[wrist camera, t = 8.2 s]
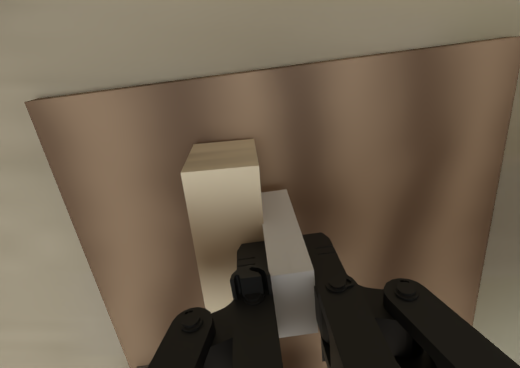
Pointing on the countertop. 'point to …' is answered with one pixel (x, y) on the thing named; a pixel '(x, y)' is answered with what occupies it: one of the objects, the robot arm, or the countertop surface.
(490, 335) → the countertop surface
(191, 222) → the link
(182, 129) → the base plate
